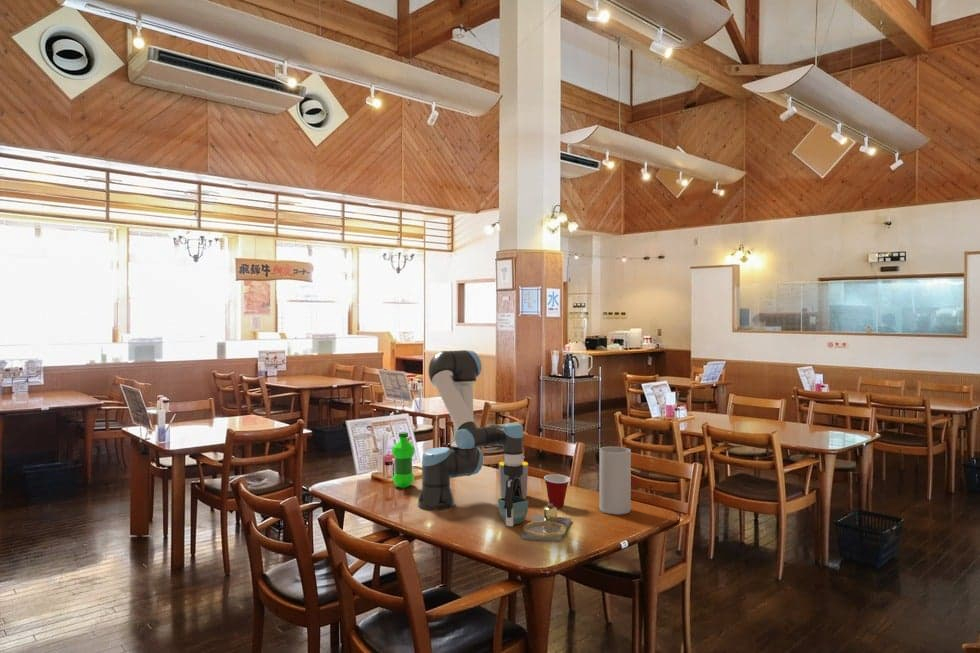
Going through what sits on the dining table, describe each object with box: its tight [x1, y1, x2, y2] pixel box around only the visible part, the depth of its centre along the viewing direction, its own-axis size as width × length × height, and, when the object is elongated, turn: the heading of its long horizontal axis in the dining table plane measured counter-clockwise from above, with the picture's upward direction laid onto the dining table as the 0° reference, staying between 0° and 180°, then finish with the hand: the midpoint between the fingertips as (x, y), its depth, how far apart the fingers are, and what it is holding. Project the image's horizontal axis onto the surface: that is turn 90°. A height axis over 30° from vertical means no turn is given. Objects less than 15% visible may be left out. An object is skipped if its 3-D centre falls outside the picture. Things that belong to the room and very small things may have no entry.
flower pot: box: [497, 496, 530, 526], centre depth 247 cm, size 9×9×9 cm
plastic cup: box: [543, 474, 571, 509], centre depth 269 cm, size 11×11×12 cm
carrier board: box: [520, 502, 572, 543], centre depth 239 cm, size 15×25×8 cm, turn 164°
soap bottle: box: [498, 460, 529, 499], centre depth 284 cm, size 13×13×21 cm
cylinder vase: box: [598, 446, 632, 516], centre depth 263 cm, size 12×12×25 cm
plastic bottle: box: [391, 431, 416, 489], centre depth 302 cm, size 10×10×25 cm
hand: (513, 521), depth 247 cm, fingers closed on flower pot, 11 cm apart
